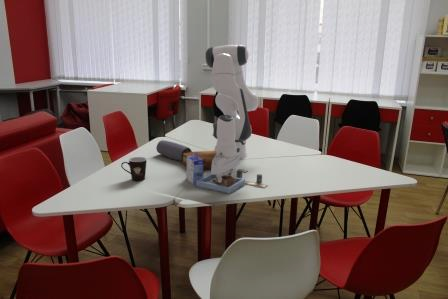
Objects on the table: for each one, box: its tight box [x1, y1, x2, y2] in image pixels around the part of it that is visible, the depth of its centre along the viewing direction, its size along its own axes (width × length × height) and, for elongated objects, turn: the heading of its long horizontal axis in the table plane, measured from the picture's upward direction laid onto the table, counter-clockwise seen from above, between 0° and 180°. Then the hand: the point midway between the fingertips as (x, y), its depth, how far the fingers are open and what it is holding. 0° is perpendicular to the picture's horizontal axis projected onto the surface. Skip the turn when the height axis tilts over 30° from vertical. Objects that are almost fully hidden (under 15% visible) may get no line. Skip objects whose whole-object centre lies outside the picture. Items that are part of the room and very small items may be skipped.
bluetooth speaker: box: [155, 140, 193, 162], centre depth 222 cm, size 23×9×10 cm, turn 47°
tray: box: [195, 173, 246, 195], centre depth 181 cm, size 18×15×3 cm
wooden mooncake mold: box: [213, 173, 237, 187], centre depth 182 cm, size 12×7×4 cm, turn 42°
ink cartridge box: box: [186, 151, 204, 186], centre depth 186 cm, size 10×6×14 cm, turn 26°
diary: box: [179, 150, 217, 171], centre depth 211 cm, size 23×19×6 cm
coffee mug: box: [120, 156, 148, 182], centre depth 189 cm, size 12×9×10 cm
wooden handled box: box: [236, 168, 269, 189], centre depth 187 cm, size 18×9×5 cm, turn 59°
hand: (225, 179), depth 180 cm, fingers open, 8 cm apart
